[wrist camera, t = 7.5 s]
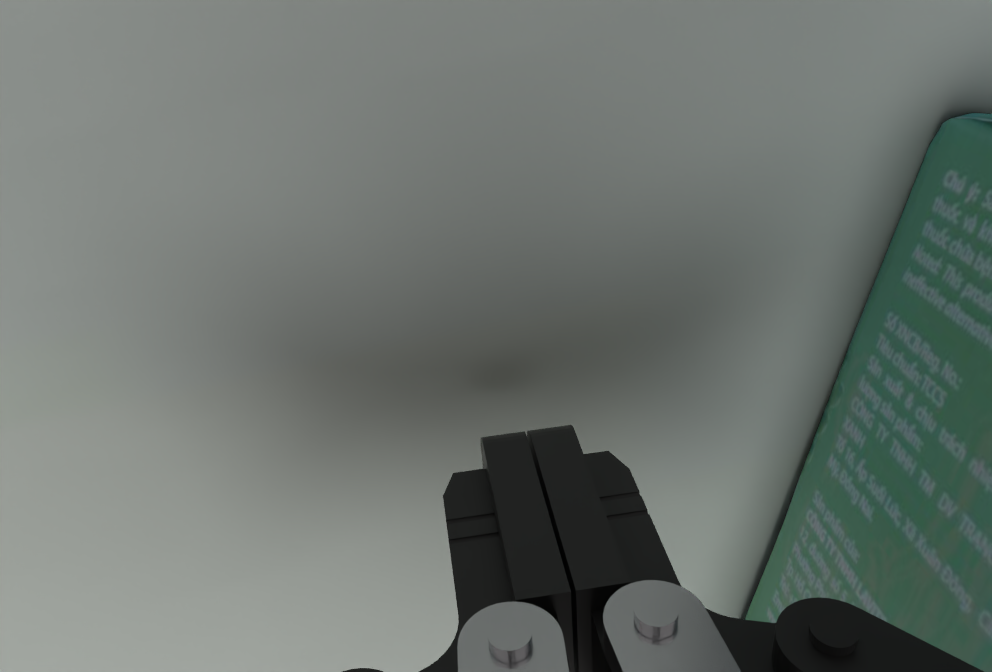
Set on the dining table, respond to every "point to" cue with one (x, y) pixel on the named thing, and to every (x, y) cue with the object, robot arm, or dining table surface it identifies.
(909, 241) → the box
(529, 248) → the dining table surface
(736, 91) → the dining table surface
